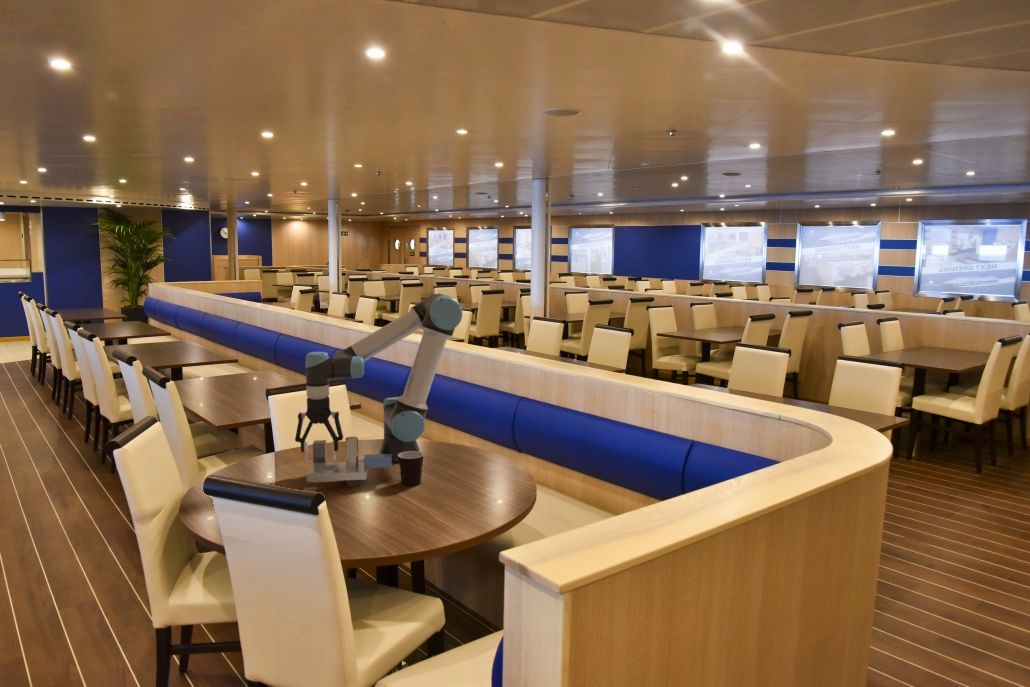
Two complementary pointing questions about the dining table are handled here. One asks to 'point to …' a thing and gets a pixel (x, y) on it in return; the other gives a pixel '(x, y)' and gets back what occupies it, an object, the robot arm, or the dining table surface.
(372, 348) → the robot arm
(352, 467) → the grey fixture base
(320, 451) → the steel pin
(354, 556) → the dining table surface
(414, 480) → the coffee mug
